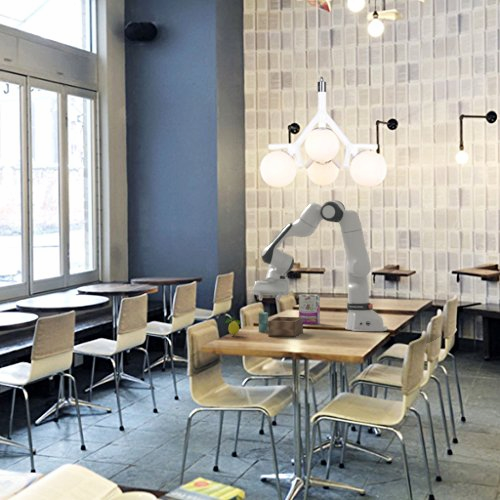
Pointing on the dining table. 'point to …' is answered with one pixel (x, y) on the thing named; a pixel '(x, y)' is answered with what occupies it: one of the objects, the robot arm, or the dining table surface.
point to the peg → (263, 322)
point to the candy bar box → (309, 308)
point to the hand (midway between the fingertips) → (268, 300)
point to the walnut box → (285, 326)
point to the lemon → (233, 326)
